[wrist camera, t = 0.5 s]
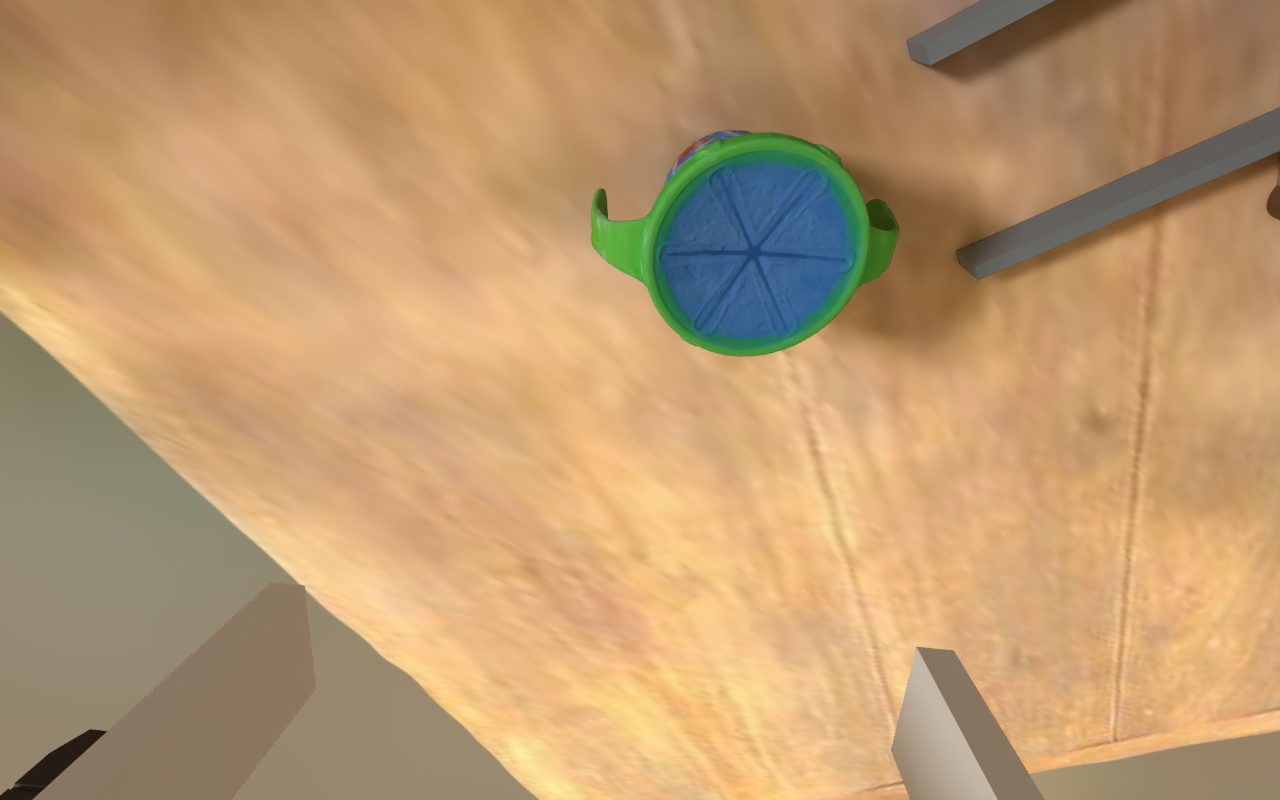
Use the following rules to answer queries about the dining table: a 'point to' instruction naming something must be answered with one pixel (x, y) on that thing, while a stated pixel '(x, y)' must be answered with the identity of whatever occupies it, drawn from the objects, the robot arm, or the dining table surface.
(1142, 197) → the headboard cradle
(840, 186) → the snack cup
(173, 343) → the dining table surface
